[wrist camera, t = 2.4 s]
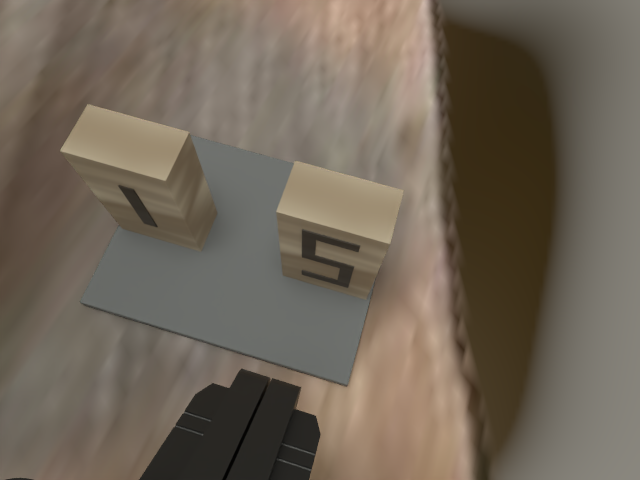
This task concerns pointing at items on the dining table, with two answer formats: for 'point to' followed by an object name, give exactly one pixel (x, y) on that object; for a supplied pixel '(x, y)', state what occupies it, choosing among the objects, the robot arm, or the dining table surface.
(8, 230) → the dining table surface
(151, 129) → the tile
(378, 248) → the tile
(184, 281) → the mat
